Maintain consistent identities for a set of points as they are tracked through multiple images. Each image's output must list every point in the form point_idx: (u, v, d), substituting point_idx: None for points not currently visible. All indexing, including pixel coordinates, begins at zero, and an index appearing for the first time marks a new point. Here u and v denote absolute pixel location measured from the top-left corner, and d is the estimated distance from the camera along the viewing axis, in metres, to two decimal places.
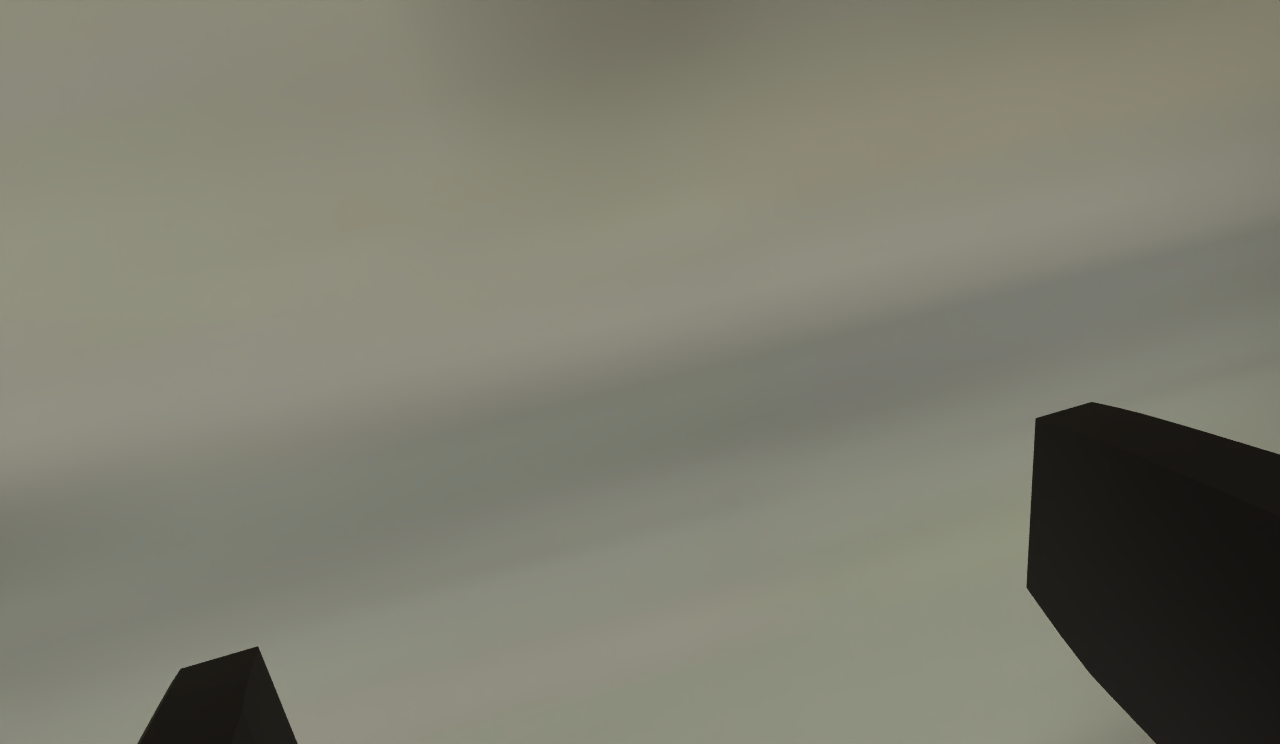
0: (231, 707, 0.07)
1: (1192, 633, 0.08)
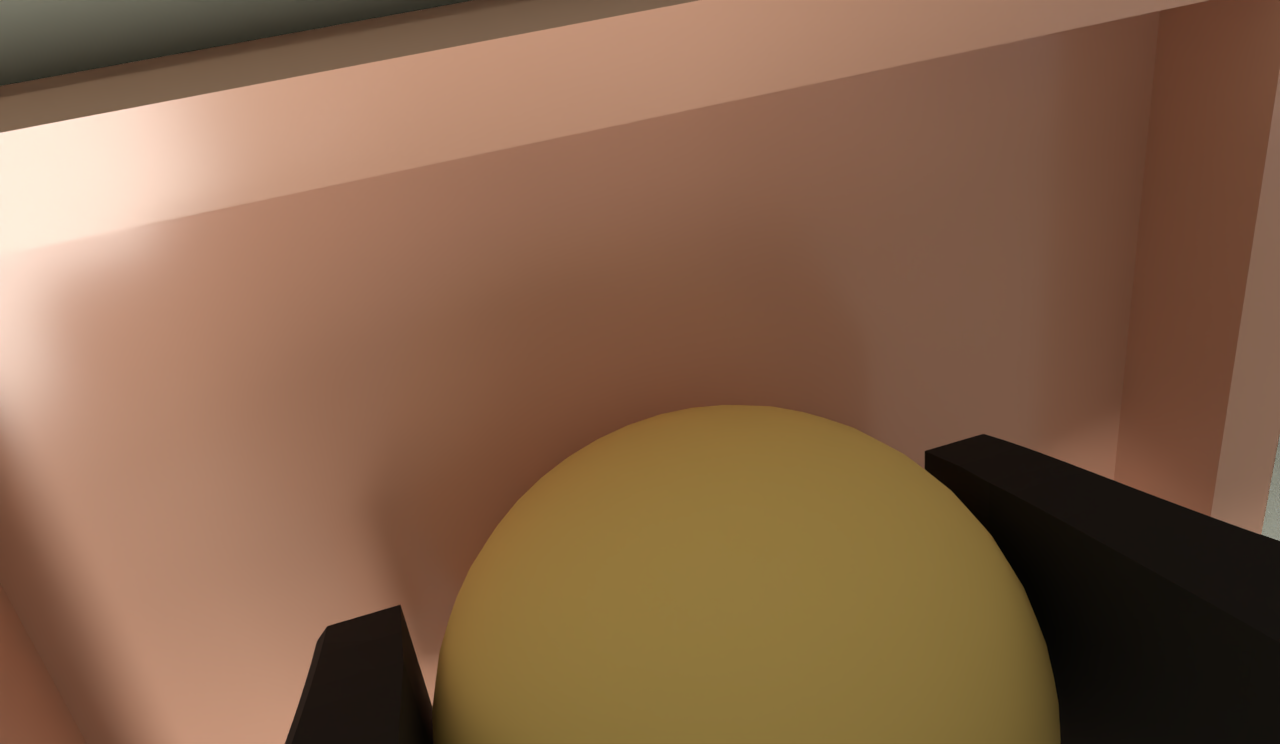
0: (392, 658, 0.07)
1: (1067, 676, 0.08)
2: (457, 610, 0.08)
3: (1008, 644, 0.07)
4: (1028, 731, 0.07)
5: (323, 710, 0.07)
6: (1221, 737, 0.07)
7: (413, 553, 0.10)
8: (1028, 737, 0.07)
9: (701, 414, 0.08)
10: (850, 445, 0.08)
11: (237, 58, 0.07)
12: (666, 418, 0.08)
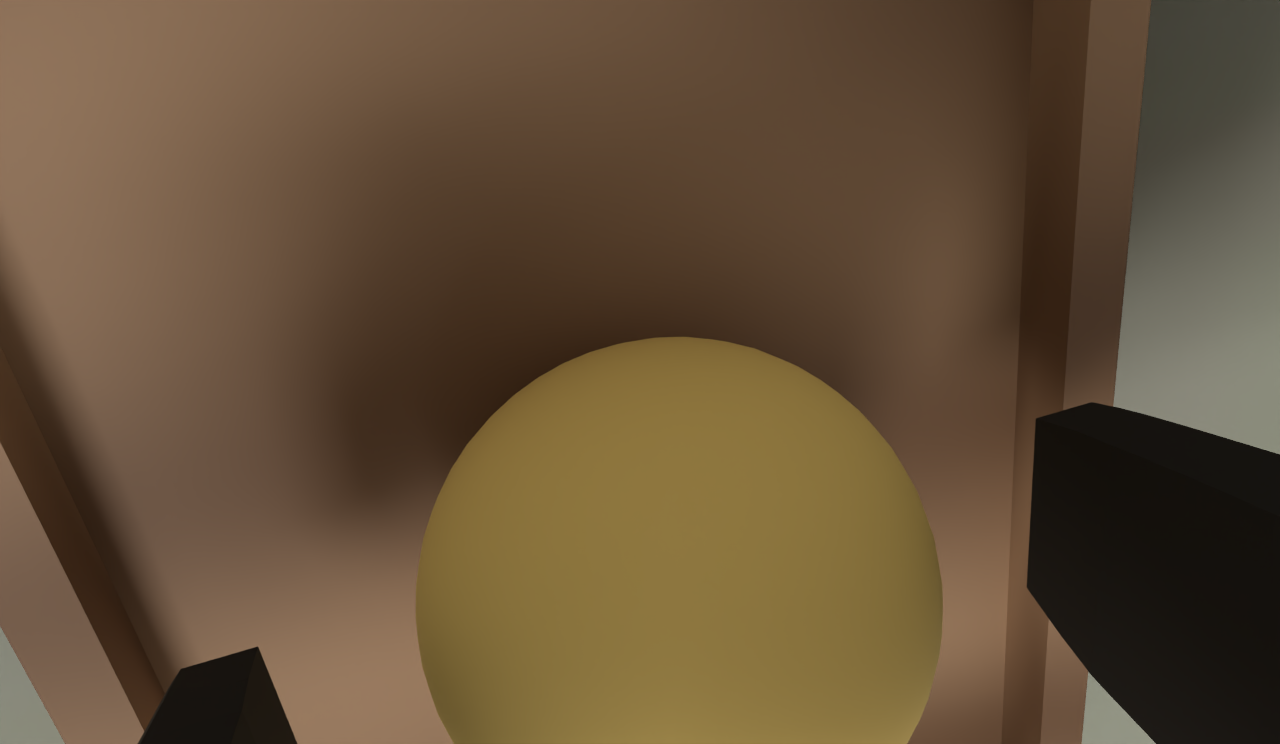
0: (231, 707, 0.07)
1: (1193, 633, 0.08)
2: (440, 500, 0.09)
3: (897, 523, 0.08)
4: (910, 592, 0.08)
5: None
6: None
7: None
8: (912, 596, 0.08)
9: (651, 340, 0.09)
10: (774, 366, 0.09)
11: None
12: (621, 344, 0.09)
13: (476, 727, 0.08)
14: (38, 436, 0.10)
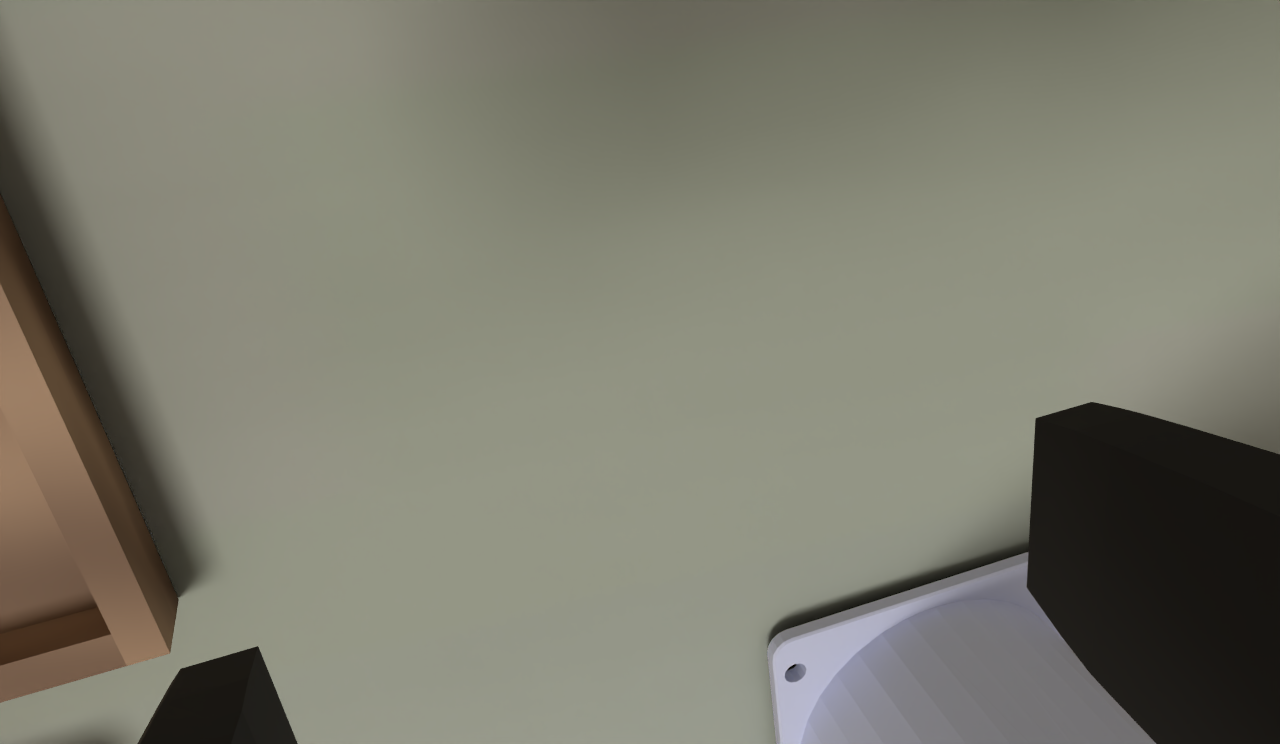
0: (231, 707, 0.07)
1: (1193, 633, 0.08)
2: None
3: None
4: None
5: None
6: None
7: None
8: None
9: None
10: None
11: None
12: None
13: None
14: None
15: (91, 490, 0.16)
